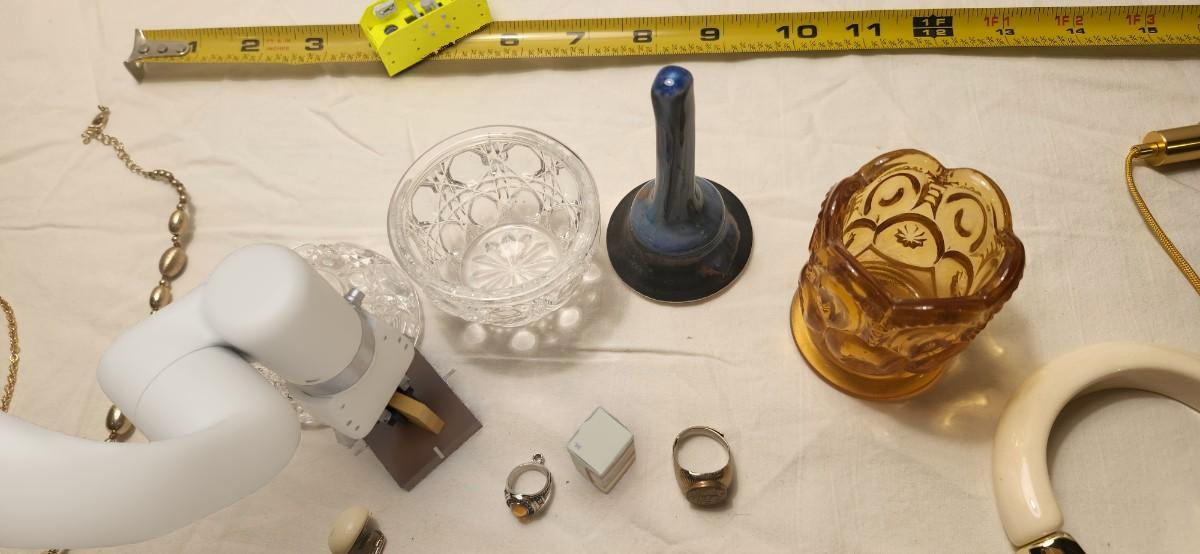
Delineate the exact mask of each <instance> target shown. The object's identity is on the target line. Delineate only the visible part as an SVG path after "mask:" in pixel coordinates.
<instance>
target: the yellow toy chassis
mask: <svg viewBox="0 0 1200 554" xmlns="http://www.w3.org/2000/svg"><path fill="white" fill-rule="evenodd" d="M490 22H491V23H492V22H493V18H492V14H491V11H490V7H489V4H488V0H376V1H374V2H372V3H370V4H369V5H367V6H366V7H365V9H364V11H363V13H362V15H361V17H360V18H359V20H358V23H359V25H360V27H361V30H363V33H364V35H365V37H366V39H367V41H368V42H369V44H370V46H371V49H372V50H373V52H374V51H376V50H377V51H378V53H379V54H378V55H379V58H380V57H381V58H380V60H381V59H382V60H381V61H382V63H383V65H384V67H385V69H386V70H387V73H388V75H389V77H392V76H394V75H396V74H398V73H400V72H402V71H403V70H406V69H408V68H409V67H411V66H413V65H415V64H416V63H418V62H420V61H423V59H421V57H422V56H424V55H425V54H428V53H429V52H432V51H433V50H435V49H437V48H439V47H441V46H444V45H445V44H447V43H449V42H455V41H454V40H456V39H458V38H461V37H462V36H464V35H466V36H468V35H469V34H468V33H470V34H472V33H473V31H474V32H476V31H478V30H479V29H481V28H482V27H481V26H483V25H485V24H486V23H489V24H491V23H490ZM485 26H486V25H485ZM457 27H458V28H457ZM480 27H481V28H480ZM483 27H484V26H483ZM475 30H476V31H475ZM471 32H472V33H471ZM467 34H468V35H467ZM414 39H415V40H414ZM461 39H462V38H461ZM418 48H419V49H418ZM388 53H390V54H388Z"/></svg>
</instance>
